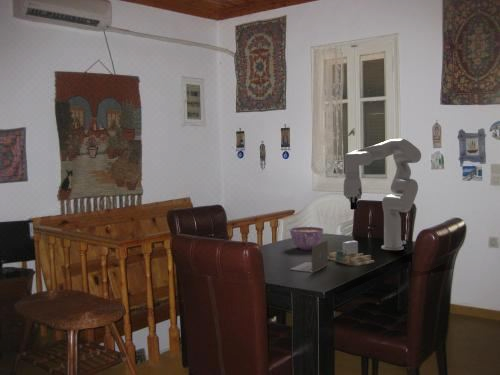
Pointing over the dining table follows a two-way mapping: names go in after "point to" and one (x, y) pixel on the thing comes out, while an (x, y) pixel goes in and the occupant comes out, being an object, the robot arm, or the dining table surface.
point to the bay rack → (350, 258)
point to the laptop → (315, 259)
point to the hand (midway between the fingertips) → (353, 209)
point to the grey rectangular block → (350, 248)
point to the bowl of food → (306, 237)
